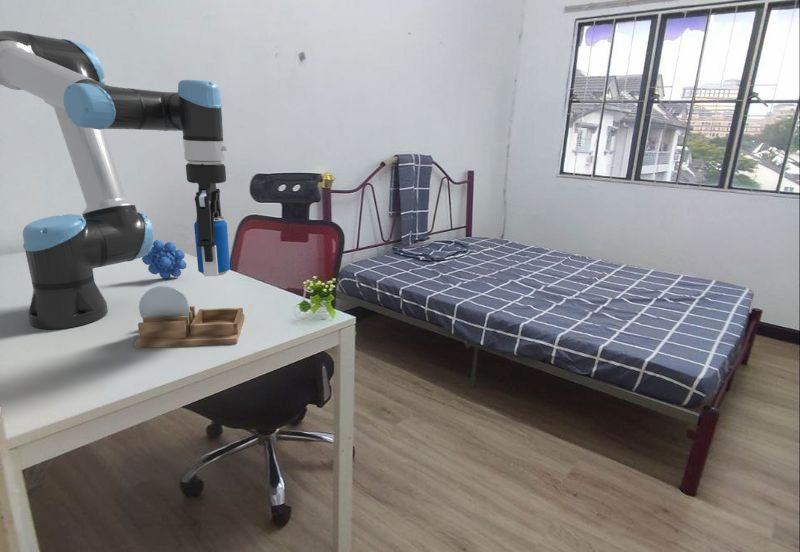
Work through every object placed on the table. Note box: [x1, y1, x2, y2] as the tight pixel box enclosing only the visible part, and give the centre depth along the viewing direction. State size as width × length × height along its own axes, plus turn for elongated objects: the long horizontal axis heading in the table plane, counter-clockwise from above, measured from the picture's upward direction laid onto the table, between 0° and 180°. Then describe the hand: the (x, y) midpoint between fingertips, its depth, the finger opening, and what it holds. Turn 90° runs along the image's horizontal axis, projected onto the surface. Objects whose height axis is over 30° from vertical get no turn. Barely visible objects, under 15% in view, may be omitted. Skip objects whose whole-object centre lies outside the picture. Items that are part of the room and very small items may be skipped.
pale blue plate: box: [138, 285, 191, 319], centre depth 101 cm, size 10×1×10 cm, turn 101°
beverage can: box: [193, 216, 231, 277], centre depth 100 cm, size 6×6×12 cm
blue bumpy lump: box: [141, 239, 188, 280], centre depth 137 cm, size 12×7×12 cm, turn 120°
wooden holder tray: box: [134, 305, 246, 349], centre depth 104 cm, size 20×14×5 cm
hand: (214, 270), depth 101 cm, fingers closed on beverage can, 6 cm apart
